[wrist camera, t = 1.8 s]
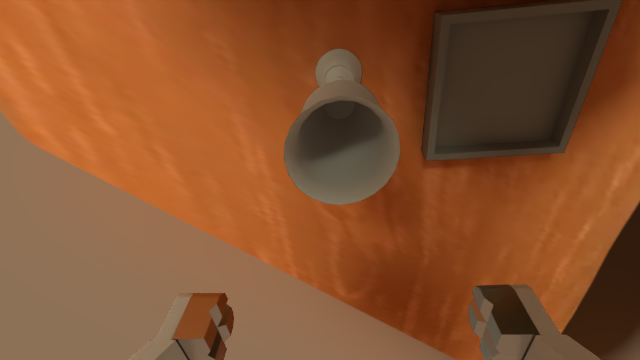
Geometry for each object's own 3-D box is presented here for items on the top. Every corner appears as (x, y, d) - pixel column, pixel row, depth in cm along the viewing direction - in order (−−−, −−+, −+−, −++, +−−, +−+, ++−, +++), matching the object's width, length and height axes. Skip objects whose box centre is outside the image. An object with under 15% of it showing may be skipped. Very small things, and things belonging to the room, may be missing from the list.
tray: (434, 12, 30) (442, 15, 28) (602, -5, 28) (623, -3, 26) (421, 150, 38) (426, 160, 36) (551, 142, 37) (564, 152, 35)
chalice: (315, 28, 31) (297, 80, 16) (380, 46, 32) (421, 112, 17) (300, 98, 35) (274, 192, 20) (358, 113, 36) (375, 214, 21)
